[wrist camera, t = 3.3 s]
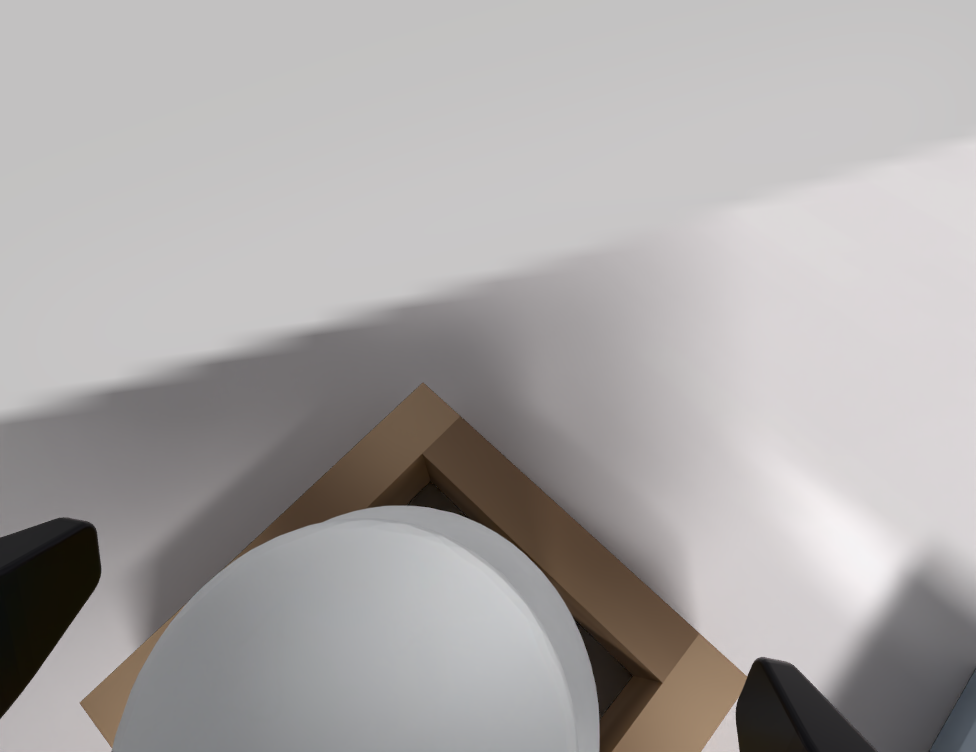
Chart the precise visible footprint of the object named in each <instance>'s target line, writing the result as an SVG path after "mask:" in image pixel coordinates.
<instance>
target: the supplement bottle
mask: <svg viewBox="0 0 976 752" xmlns="http://www.w3.org/2000/svg"><path fill="white" fill-rule="evenodd" d="M599 747H600V734H599V705H598V698H597V691H596V684H595V680H594V676H593V672H592V667H591V663H590V660H589V657H588V654H587V651H586V648H585V645H584V642H583V639H582V637H581V634H580V632H579V630H578V628H577V626H576V623H575V621H574V619H573V617H572V615H571V613H570V611H569V609H568V608H567V606H566V604H565V602H564V601H563V599H562V598H561V596H560V595H559V593H558V591H557V590H556V589H555V587H554V586H553V585H552V584H551V582H550V581H549V580H548V579H547V577H546V576H545V575H544V573H543V572H542V571H541V570H540V569H539V568H538V567H537V566H536V565H535V564H534V563H533V562H532V561H531V560H530V559H529V558H528V557H527V556H526V555H525V554H524V553H523V552H522V551H521V550H519V549H518V548H517V547H516V546H515V545H513V544H512V543H511V542H509V541H508V540H506V539H505V538H503V537H502V536H500V535H499V534H498V533H496V532H494V531H492V530H491V529H489V528H487V527H485V526H484V525H482V524H480V523H477V522H475V521H473V520H470V519H468V518H465V517H463V516H461V515H458V514H455V513H451V512H447V511H442V510H437V509H433V508H429V507H419V506H381V507H373V508H367V509H362V510H357V511H353V512H350V513H346V514H343V515H340V516H337V517H334V518H331V519H329V520H326V521H324V522H322V523H317V524H313V525H309V526H306V527H303V528H300V529H297V530H294V531H291V532H288V533H286V534H283V535H280V536H278V537H276V538H274V539H272V540H270V541H268V542H266V543H264V544H262V545H260V546H258V547H256V548H254V549H252V550H250V551H248V552H247V553H245V554H244V555H242V556H241V557H239V558H238V559H236V560H235V561H233V562H232V563H231V564H229V565H228V566H227V567H226V568H224V569H223V570H222V571H221V572H219V573H218V574H217V575H216V576H214V577H213V578H212V579H211V580H210V581H209V582H208V583H207V584H205V585H204V586H203V587H202V588H201V589H200V590H199V591H198V592H197V593H196V594H195V595H194V596H193V597H192V598H191V599H190V600H189V602H188V603H187V604H186V605H185V606H184V607H183V608H182V610H181V611H180V612H179V613H178V614H177V615H176V617H175V618H174V619H173V620H172V621H171V623H170V624H169V625H168V627H167V628H166V630H165V631H164V633H163V634H162V635H161V637H160V638H159V640H158V641H157V643H156V644H155V646H154V648H153V650H152V651H151V653H150V655H149V656H148V658H147V660H146V662H145V663H144V665H143V667H142V669H141V670H140V672H139V674H138V676H137V678H136V681H135V683H134V685H133V687H132V689H131V692H130V695H129V697H128V700H127V703H126V706H125V709H124V712H123V715H122V718H121V720H120V723H119V726H118V729H117V732H116V735H115V739H114V743H113V747H112V752H599Z"/></svg>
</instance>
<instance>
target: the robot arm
mask: <svg viewBox="0 0 976 752" xmlns="http://www.w3.org/2000/svg"><path fill="white" fill-rule="evenodd" d="M100 576H101V562H100V554H99V545H98V537H97V531H96V528H95V527H94V525H93V524H92V523H90V522H87V521H82V520H77V519H72V518H64V517H63V518H57V519H54V520H51V521H48V522H45V523H42V524H40V525H37V526H34V527H31V528H28V529H25V530H22V531H19V532H16V533H13V534H10V535H7V536H4V537H1V538H0V719H1V718H2V716H3V715H4V714H5V713H6V712H7V710H8V709H9V708H10V707H11V705H12V704H13V703H14V702H15V700H16V699H17V698H18V697H19V695H20V694H21V693H22V692H23V690H24V689H25V688H26V686H27V685H28V684H29V682H30V681H31V680H32V678H33V677H34V676H35V674H36V673H37V671H38V670H39V668H40V667H41V666H42V664H43V663H44V661H45V660H46V658H47V657H48V656H49V654H50V653H51V651H52V650H53V648H54V647H55V646H56V644H57V643H58V641H59V640H60V638H61V637H62V636H63V634H64V633H65V631H66V630H67V628H68V627H69V626H70V624H71V623H72V621H73V620H74V618H75V617H76V616H77V614H78V613H79V611H80V610H81V608H82V607H83V606H84V604H85V603H86V601H87V600H88V598H89V597H90V596H91V594H92V593H93V591H94V590H95V588H96V586H97V584H98V582H99V579H100ZM736 726H737V734H738V742H739V749H740V752H878V751H877V750H876V749H875V748H874V747H873V746H872V745H871V744H870V743H869V742H868V741H867V740H866V739H865V738H864V737H863V736H862V735H861V734H860V733H859V732H858V731H857V730H856V729H855V728H854V727H853V726H852V725H851V724H850V722H849V721H848V720H847V719H846V718H845V717H844V716H843V715H842V714H841V713H840V712H839V711H838V710H837V709H836V708H835V707H834V706H833V705H832V704H831V703H830V702H829V701H828V700H827V699H826V698H825V697H824V696H823V695H822V694H821V693H820V692H819V691H818V690H817V688H816V687H815V686H814V685H813V684H812V683H811V682H810V681H809V680H808V679H807V678H806V677H805V676H804V675H803V674H802V673H801V672H800V671H799V670H798V669H797V668H796V667H795V666H794V665H792V664H791V663H788V662H786V661H781V660H776V659H771V658H766V657H760V658H757V659H756V660H755V661H754V663H753V664H752V667H751V669H750V672H749V674H748V676H747V679H746V681H745V684H744V686H743V689H742V691H741V694H740V696H739V699H738V702H737V706H736Z"/></svg>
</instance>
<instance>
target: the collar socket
mask: <svg viewBox="0 0 976 752" xmlns="http://www.w3.org/2000/svg"><path fill="white" fill-rule="evenodd" d="M430 481H431V482H432V483H433V484H434V485H436V486H437V487H438V488H439V489H440V490H441V491H442V492H443V493H444V494H445V495H446V496H447V497H448V498H449V499H450V500H451V501H452V502H453V503H454V504H455V505H456V506H457V507H458V508H459V509H460V510H461V511H463V512H464V513H465V514H466V515H467V516H468V517H469V518H470V519H471V520H473V521H475V522H477V523H480V524H482V525H484V526H485V527H487V528H489V529H491V530H492V531H494V532H496V533H498V534H499V535H500V536H502V537H503V538H505V539H506V540H508V541H509V542H511V543H512V544H513V545H515V546H516V547H517V548H518V549H519V550H521V551H522V552H523V553H524V554H525V555H526V556H527V557H528V558H529V559H530V560H531V561H532V562H533V563H534V564H535V565H536V566H537V567H538V568H539V569H540V570H541V571H542V572H543V573H544V575H545V576H546V577H547V579H548V580H549V581H550V582H551V584H552V585H553V586H554V587H555V589H556V590H557V591H558V593H559V595H560V596H561V598H562V599H563V601H564V602H565V604H566V606H567V608H568V609H569V611H570V613H571V615H572V617H573V618H574V619H575V620H576V621H577V622H578V623H579V624H580V625H581V626H582V627H583V628H584V629H585V630H586V631H587V632H588V633H589V634H590V635H591V636H592V637H593V638H594V639H595V640H596V641H597V642H598V643H600V644H601V645H602V646H603V647H604V648H605V649H606V650H607V651H608V652H609V653H610V654H611V655H612V656H613V657H614V658H615V659H616V660H617V661H618V662H619V663H620V664H621V665H622V666H623V667H624V668H625V669H626V670H628V671H629V672H630V673H631V674H632V675H633V677H632V678H631V679H630V681H629V682H628V683H627V685H626V686H625V687H624V689H623V690H622V691H621V693H620V694H619V695H618V697H617V698H616V699H615V701H614V702H613V703H612V704H611V706H610V707H609V708H608V710H607V711H606V712H605V714H604V715H603V716H602V718H601V719H600V720H599V734H600V747H599V752H701V751H702V749H703V748H704V746H705V745H706V744H707V742H708V741H709V739H710V738H711V736H712V735H713V733H714V732H715V730H716V729H717V728H718V726H719V725H720V723H721V722H722V720H723V719H724V717H725V716H726V715H727V713H728V712H729V710H730V709H731V707H732V706H733V704H734V703H735V702H736V700H737V699H738V697H739V696H740V694H741V691H742V689H743V686H744V684H745V681H746V679H747V676H746V675H745V674H744V673H743V672H741V671H740V670H739V669H738V668H737V667H736V666H735V665H734V664H733V663H732V662H730V661H729V660H728V659H727V658H726V657H725V656H724V655H723V654H722V653H721V652H719V651H718V650H717V649H716V648H715V647H714V646H713V645H712V644H711V643H710V642H708V641H707V640H706V639H705V638H704V637H703V636H702V635H701V634H700V633H699V632H697V631H696V630H695V629H694V628H693V627H692V626H691V625H690V624H689V623H687V622H686V621H685V620H684V619H683V618H682V617H681V616H680V615H679V614H678V613H676V612H675V611H674V610H673V609H672V608H671V607H670V606H669V605H668V604H667V603H665V602H664V601H663V600H662V599H661V598H660V597H659V596H658V595H657V594H656V593H654V592H653V591H652V590H651V589H650V588H649V587H648V586H647V585H646V584H645V583H643V582H642V581H641V580H640V579H639V578H638V577H637V576H636V575H635V574H634V573H632V572H631V571H630V570H629V569H628V568H627V567H626V566H625V565H624V564H623V563H621V562H620V561H619V560H618V559H617V558H616V557H615V556H614V555H613V554H612V553H610V552H609V551H608V550H607V549H606V548H605V547H604V546H603V545H602V544H600V543H599V542H598V541H597V540H596V539H595V538H594V537H593V536H592V535H591V534H589V533H588V532H587V531H586V530H585V529H584V528H583V527H582V526H581V525H580V524H578V523H577V522H576V521H575V520H574V519H573V518H572V517H571V516H570V515H569V514H567V513H566V512H565V511H564V510H563V509H562V508H561V507H560V506H559V505H558V504H556V503H555V502H554V501H553V500H552V499H551V498H550V497H549V496H548V495H547V494H545V493H544V492H543V491H542V490H541V489H540V488H539V487H538V486H537V485H536V484H534V483H533V482H532V481H531V480H530V479H529V478H528V477H527V476H526V475H525V474H523V473H522V472H521V471H520V470H519V469H518V468H517V467H516V466H515V465H513V464H512V463H511V462H510V461H509V460H508V459H507V458H506V457H505V456H504V455H502V454H501V453H500V452H499V451H498V450H497V449H496V448H495V447H494V446H493V445H491V444H490V443H489V442H488V441H487V440H486V439H485V438H484V437H483V436H482V435H480V434H479V433H478V432H477V431H476V430H475V429H474V428H473V427H472V426H471V425H469V424H468V423H467V422H466V421H465V420H464V419H463V418H462V417H461V416H460V415H458V414H457V413H456V412H455V411H454V410H453V409H452V408H451V407H450V406H449V405H447V404H446V403H445V402H444V401H443V400H442V399H441V398H440V397H439V396H438V395H436V394H435V393H434V392H433V391H432V390H431V389H430V388H429V387H428V386H426V385H425V384H424V383H422V384H421V385H420V386H419V387H418V388H417V389H415V390H414V391H413V392H412V393H411V394H410V395H409V396H408V397H407V398H406V399H405V400H404V401H403V402H401V403H400V404H399V405H398V406H397V407H396V408H395V409H394V410H393V411H392V412H391V413H390V414H389V415H388V416H386V417H385V418H384V419H383V420H382V421H381V422H380V423H379V424H378V425H377V426H376V427H375V428H374V429H373V430H371V431H370V432H369V433H368V434H367V435H366V436H365V437H364V438H363V439H362V440H361V441H360V442H359V443H358V444H356V445H355V446H354V447H353V448H352V449H351V450H350V451H349V452H348V453H347V454H346V455H345V456H344V457H343V458H341V459H340V460H339V461H338V462H337V463H336V464H335V465H334V466H333V467H332V468H331V469H330V470H329V471H328V472H326V473H325V474H324V475H323V476H322V477H321V478H320V479H319V480H318V481H317V482H316V483H315V484H314V485H313V486H311V487H310V488H309V489H308V490H307V491H306V492H305V493H304V494H303V495H302V496H301V497H300V498H299V499H298V500H296V501H295V502H294V503H293V504H292V505H291V506H290V507H289V508H288V509H287V510H286V511H285V512H284V513H283V514H281V515H280V516H279V517H278V518H277V519H276V520H275V521H274V522H273V523H272V524H271V525H270V526H269V527H268V528H266V529H265V530H264V531H263V532H262V533H261V534H260V535H259V536H258V537H257V538H256V539H255V540H254V541H253V542H251V543H250V544H249V545H248V546H247V547H246V548H245V549H244V550H243V551H242V552H241V553H240V554H239V555H238V556H236V557H235V558H234V559H233V560H232V561H231V562H230V563H229V564H231V563H232V562H233V561H235V560H236V559H238V558H239V557H241V556H242V555H244V554H245V553H247V552H248V551H250V550H252V549H254V548H256V547H258V546H260V545H262V544H264V543H266V542H268V541H270V540H272V539H274V538H276V537H278V536H280V535H283V534H286V533H288V532H291V531H294V530H297V529H300V528H303V527H306V526H309V525H313V524H317V523H322V522H324V521H326V520H329V519H331V518H334V517H337V516H340V515H343V514H346V513H350V512H353V511H357V510H362V509H367V508H373V507H381V506H406V505H407V504H408V503H409V502H410V501H411V500H412V499H413V498H414V497H415V496H416V495H417V494H418V493H419V492H420V491H421V490H422V489H423V488H424V487H425V486H426V485H427V484H428V483H429V482H430ZM229 564H228V565H229ZM228 565H227V566H228ZM227 566H226V567H227ZM226 567H225V568H226ZM221 571H222V570H221ZM221 571H220V572H221ZM188 602H189V601H188ZM188 602H187V603H188ZM187 603H186V604H187ZM186 604H185V605H186ZM185 605H184V606H185ZM184 606H183V607H184ZM183 607H182V608H183ZM182 608H181V609H180V610H179V611H178V612H176V613H175V614H174V615H173V616H172V617H171V618H170V619H169V620H168V621H167V622H166V623H165V624H164V625H163V626H161V627H160V628H159V629H158V630H157V631H156V632H155V633H154V634H153V635H152V636H151V637H150V638H149V639H148V640H146V641H145V642H144V643H143V644H142V645H141V646H140V647H139V648H138V649H137V650H136V651H135V652H134V653H133V654H131V655H130V656H129V657H128V658H127V659H126V660H125V661H124V662H123V663H122V664H121V665H120V666H119V667H118V668H116V669H115V670H114V671H113V672H112V673H111V674H110V675H109V676H108V677H107V678H106V679H105V680H104V681H102V682H101V683H100V684H99V685H98V686H97V687H96V688H95V689H94V690H93V691H92V692H91V693H90V694H89V695H87V696H86V697H85V698H84V699H83V700H82V701H81V702H80V704H81V706H82V707H83V708H84V710H85V711H86V713H87V714H88V715H89V717H90V718H91V720H92V721H93V722H94V724H95V725H96V727H97V728H98V729H99V731H100V732H101V734H102V735H103V736H104V738H105V739H106V741H107V742H108V743H109V745H110V746H111V748H112V747H113V743H114V739H115V735H116V732H117V729H118V726H119V723H120V720H121V718H122V715H123V712H124V709H125V706H126V703H127V700H128V697H129V695H130V692H131V689H132V687H133V685H134V683H135V681H136V678H137V676H138V674H139V672H140V670H141V669H142V667H143V665H144V663H145V662H146V660H147V658H148V656H149V655H150V653H151V651H152V650H153V648H154V646H155V644H156V643H157V641H158V640H159V638H160V637H161V635H162V634H163V633H164V631H165V630H166V628H167V627H168V625H169V624H170V623H171V621H172V620H173V619H174V618H175V617H176V615H177V614H178V613H179V612H180V611H181V610H182Z"/></svg>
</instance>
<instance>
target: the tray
mask: <svg viewBox="0 0 976 752" xmlns="http://www.w3.org/2000/svg"><path fill="white" fill-rule="evenodd" d="M929 752H976V669H975V671H974V673H973V675H972V676H971V678H970V680H969V682H968V684H967V685H966V687H965V689H964V691H963V692H962V694H961V696H960V698H959V700H958V701H957V703H956V705H955V707H954V709H953V710H952V712H951V714H950V716H949V717H948V719H947V721H946V723H945V725H944V726H943V728H942V730H941V732H940V733H939V735H938V737H937V739H936V741H935V742H934V744H933V746H932V748H931V750H930V751H929Z"/></svg>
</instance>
